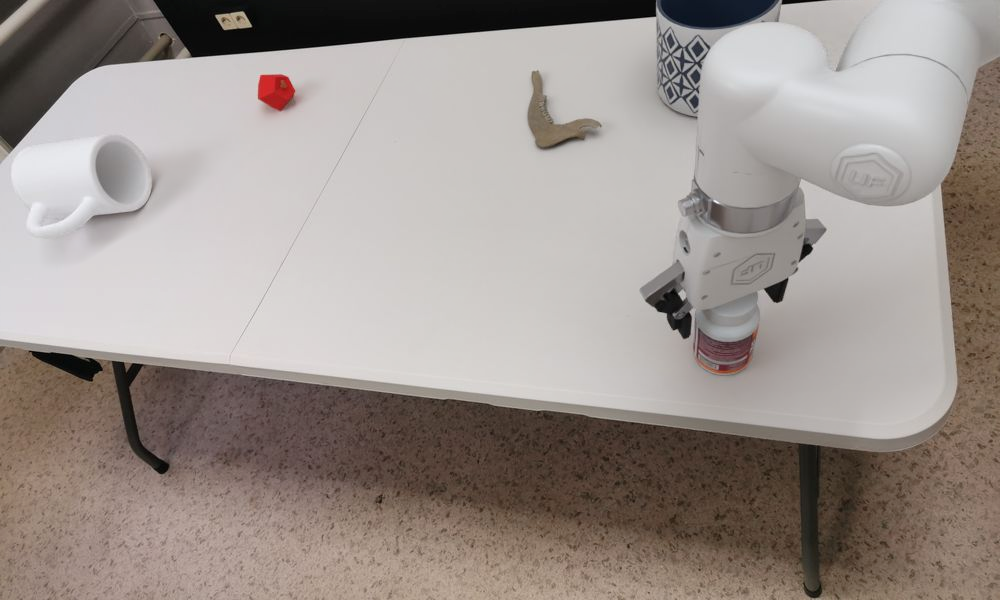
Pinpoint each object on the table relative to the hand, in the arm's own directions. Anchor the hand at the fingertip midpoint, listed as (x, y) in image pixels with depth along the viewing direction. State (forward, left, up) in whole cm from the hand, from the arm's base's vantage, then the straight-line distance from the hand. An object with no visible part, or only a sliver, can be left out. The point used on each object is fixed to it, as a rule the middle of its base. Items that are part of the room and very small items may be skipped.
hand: (724, 309), depth 61 cm
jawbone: (0, -49, -9) cm, 50 cm away
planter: (-21, -41, -9) cm, 47 cm away
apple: (+45, -80, -9) cm, 92 cm away
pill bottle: (0, 0, -9) cm, 9 cm away
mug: (+80, -67, -9) cm, 104 cm away
